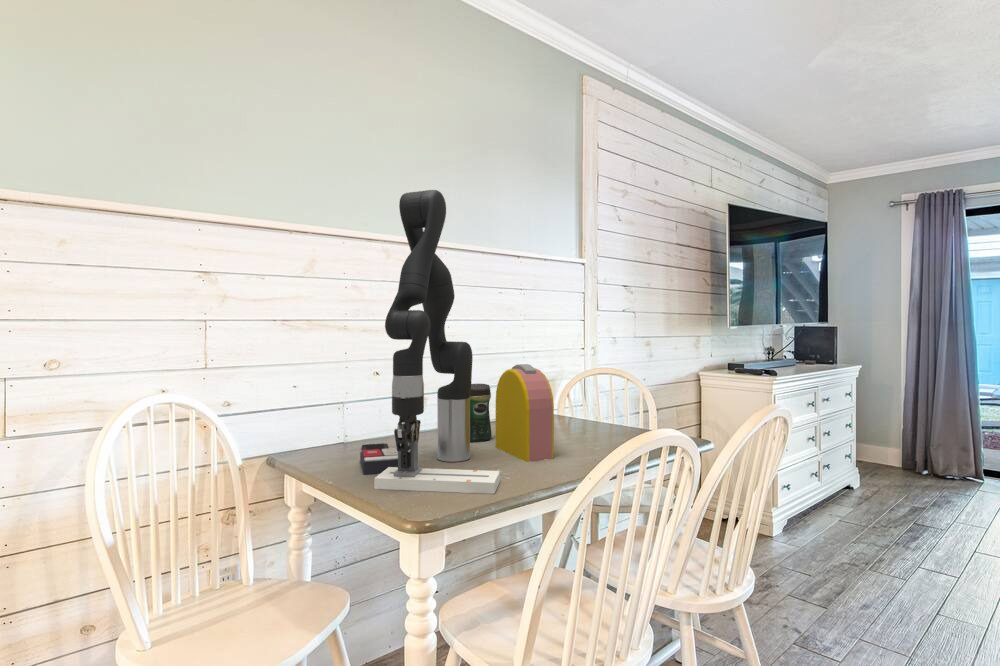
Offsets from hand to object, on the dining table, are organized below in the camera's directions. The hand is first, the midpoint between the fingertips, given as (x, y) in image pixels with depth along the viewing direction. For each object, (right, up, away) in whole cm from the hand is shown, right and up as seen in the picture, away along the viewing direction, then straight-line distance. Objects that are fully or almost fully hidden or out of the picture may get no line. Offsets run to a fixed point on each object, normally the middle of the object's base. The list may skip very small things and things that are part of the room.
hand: (407, 465), depth 131 cm
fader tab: (0, -2, 0) cm, 2 cm away
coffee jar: (+14, -4, +51) cm, 53 cm away
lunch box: (+29, -4, +33) cm, 44 cm away
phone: (-15, -4, +33) cm, 37 cm away
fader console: (+7, -4, -1) cm, 9 cm away
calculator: (-10, -5, +17) cm, 20 cm away
